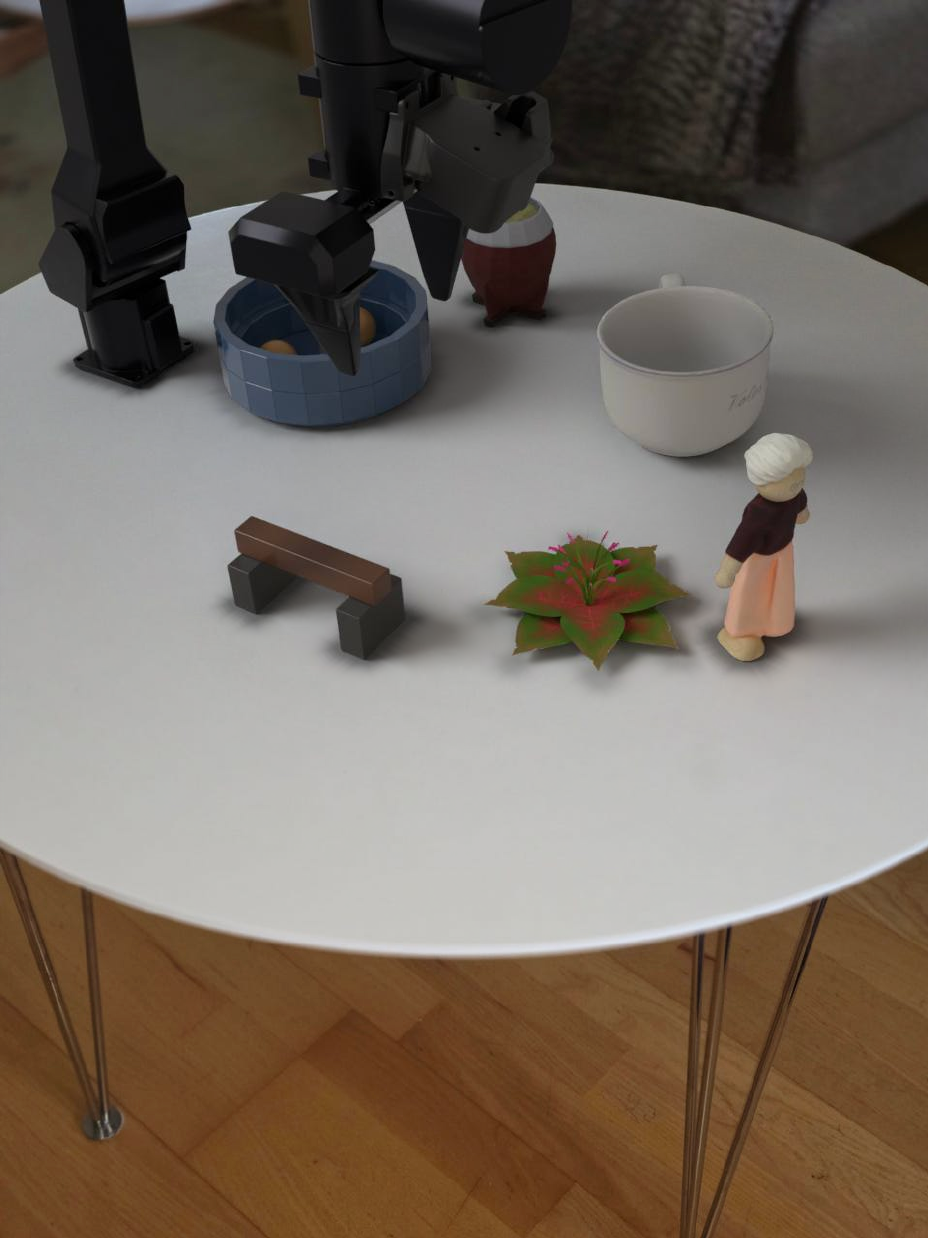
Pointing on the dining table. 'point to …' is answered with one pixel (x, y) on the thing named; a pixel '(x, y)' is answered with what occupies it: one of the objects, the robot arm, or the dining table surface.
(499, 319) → the mate gourd
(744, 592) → the grandmother figurine
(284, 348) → the bead
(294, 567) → the stick
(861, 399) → the dining table surface
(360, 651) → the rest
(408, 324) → the bowl
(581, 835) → the dining table surface
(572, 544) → the red green leafy plant
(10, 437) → the dining table surface
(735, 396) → the teacup
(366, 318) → the bead
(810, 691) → the dining table surface
